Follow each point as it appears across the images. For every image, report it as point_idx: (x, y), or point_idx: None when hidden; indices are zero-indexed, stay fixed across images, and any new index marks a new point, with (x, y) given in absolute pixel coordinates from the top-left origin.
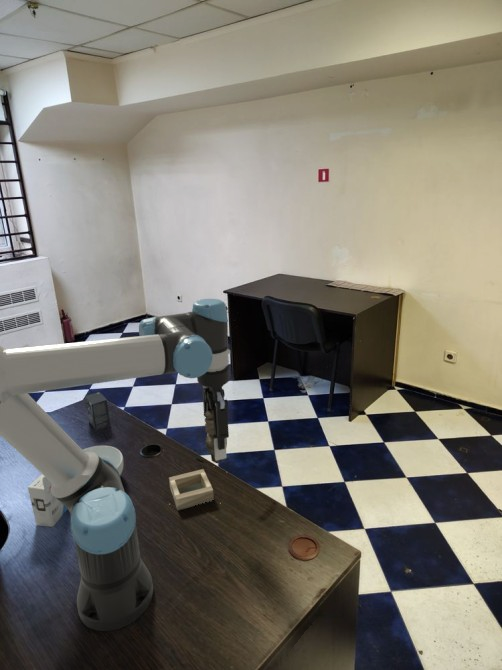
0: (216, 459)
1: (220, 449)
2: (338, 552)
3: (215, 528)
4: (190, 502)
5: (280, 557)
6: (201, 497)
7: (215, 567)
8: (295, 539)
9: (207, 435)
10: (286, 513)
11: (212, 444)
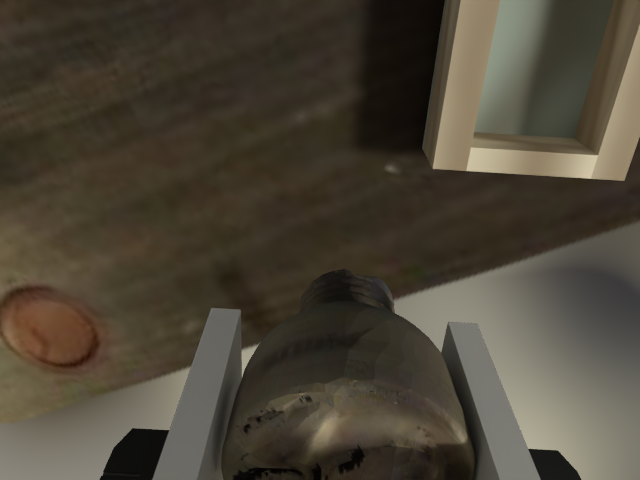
0: (207, 321)
1: (130, 444)
2: (8, 399)
3: (247, 91)
4: (446, 32)
5: (25, 252)
6: (438, 97)
7: (27, 9)
8: (92, 326)
9: (513, 416)
10: None
11: (248, 415)
